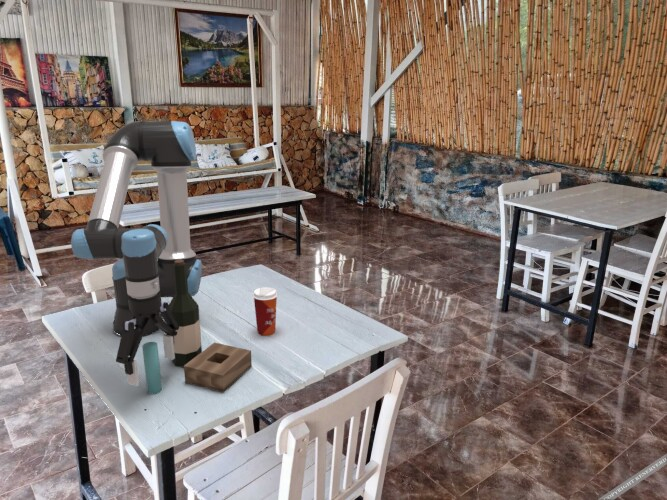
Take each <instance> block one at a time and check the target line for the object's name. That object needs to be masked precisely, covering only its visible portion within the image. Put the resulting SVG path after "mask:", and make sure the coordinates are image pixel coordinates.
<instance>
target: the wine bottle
mask: <svg viewBox="0 0 667 500" xmlns="http://www.w3.org/2000/svg"><path fill="white" fill-rule="evenodd" d="M173 272H174V284H175V295H174V296H173V297H171V300H170V302H169V303H168V304H169V310H170V311H171V313H172V315H173V317H174V318H175V320H176V322H177V324H178V326H179V329H178V330H176V331H177V335H176V336H174V354H175V359H171V361H172V363H173V364H174V365H175V367H180V368H184V365H186V364H187V363H188V362H190V361H191V360H192V359H193V358H195V357H196V356H197V355H199V354H200V353H201V352H203V349H202V347H203V346H202V335H201V320H200V309H199V307H200V306H199V304H198V303H197V302H196V300H195V299H194V298H193V296H191V295H190V294H189V293H188V283H187V271H186V263H185V262H184V260H176V261H174V264H173Z"/></svg>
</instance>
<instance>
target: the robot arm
mask: <svg viewBox="0 0 667 500" xmlns="http://www.w3.org/2000/svg"><path fill="white" fill-rule="evenodd" d="M196 146H197V145H196V141H195V136H194V134H193V130H192V128H191V126H190V124H188V123H187V122H186V121H175V120H171V121H169V120H168V121H167V120H165V121H164V120H161V121H159V120H158V121H156V120H155V121H153V120H151V121H150V120H149V121H147V120H146V121H144V120H137V121H131V122H129V123H126V124H125V125H123V126H122V127H120V128H119V129H118V130H117V131H115V132H114V133H113V134H112V135H111V136H110V138H109V139H108V141H107V142H106V145H104V149H103V152H102V160H103V167H102V169H101V173H100V177H99V180H98V184H97V187H96V191H95V194H94V199H93V202H92V206H91V210H90V213H89V216H88V220H87V224H86V227H85V228H84V227H83V228H80V229H79V228H78V229H75V231H73V233H72V235H71V239H70V241H71V243H70V245H71V250H72V252H73V255H74V256H75V257H76V258H77V259H84V260H85V259H88V260H98V259H99V260H100V259H119V260H117V261H116V262H114V264H113V265H112V267H111V269H112V270H111V272H112V273H111V274H112V277H111V278H112V285H113V291H114V298H115V306H116V309H115V312H114V318H113V322H112V329H113V330H114V331H115V332H116V333H118V334H120V335H121V336H120V340H119V345H118V349H117V354H116V358H115V362H116V363H119V364H123V365H124V366H123V368H124V373H125V375H126V377H127V384H129V385H132V386H136V387H138V386H139V385H140V382H139V379H140V378H139V371H138V363H137V360H135V357H136V355H137V352H138V349H139V347H140V345H141V341H142V339H143V337H146V336H148V335H151V334H154V333H156V332H158V331H159V330H160V331H162V332H163V333H164V334H163V335H162V343H163V344H162V345H163V350H164V351H163V353H164V354H163V355H164V358H165V359H169V360H172V359H175V354H174V336H176V335H177V331H176V330H178V329H179V326H178V324H177V322H176V320H175V318H174V317H173V315H172V313H171V311H170V310H169V304H170V303H168V302H166V301H162V298H173V296H174V295H175V284H174V272H173V264H174V261H176V260H184V262H185V263H186V271H187V283H188V293H189V294H190V295H191V296H192V297H194V296H196V295H197V294H198V293H199V290H200V286H201V280H202V271H203V263H202V260H201V259H197V254H196V252H195V251H194V250H192V247H191V233H190V229H191V228H190V211H189V210H190V209H189V196H188V195H189V193H188V171H189V170H190V169H191V168H192V162H194V161H196V159H197V147H196ZM139 162H150V164H151V165H150V166H151V169H153V170H154V172H155V173H156V174H157V175H156V176H157V189H158V190H157V191H158V206H159V209H158V210H159V221H160V225H159V224H152V223H150V224H148V225H145V226H143V227H142V228H141V227H139V228H134V227H133V228H119V226H120V222H121V218H122V215H123V214H122V213H123V211H124V207H125V203H126V198H127V194H128V193H127V192H128V189H129V185H130V181H131V176H132V173H133V170H134V169H135V168H136V167H138V164H139ZM114 331H113V332H114Z"/></svg>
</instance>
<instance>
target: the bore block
mask: <svg viewBox="0 0 667 500" xmlns="http://www.w3.org/2000/svg"><path fill="white" fill-rule="evenodd" d="M252 363H253V362H252V350H250V349H245V348H241V347H237V346H231V345H227V344H224V343H223V344H222V343H219V342H213V343H212V344H211V345H209V346H208V347H206V348H205V349H204V350H202V352H201V353H200V354H199V355H197V356H196V357H195V358H193V359H192V360H191V361H190V362H188V363H187V364H186V365H184V367H183V373H184V382H185V383H186V384H188V385H193V386H196V387H201V388H205V389H209V390H213V391H216V392H220V393H222V394H223V393H225V392H227V390H228V389H229V388H230V387H231V386H232V385H234V384H235V383H236V382H237V381H238V380H239V379H240V378H241V377H242V376H243V375H244V374H245V373H247V371H249V370H250V369H251V367H252Z"/></svg>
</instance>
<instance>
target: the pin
mask: <svg viewBox="0 0 667 500" xmlns="http://www.w3.org/2000/svg"><path fill="white" fill-rule="evenodd" d="M141 347H142V356H143V365H144V366H143V367H144V373H145V381H146V382H145V383H146V391H147V393H148V394H149V393H150V394H149V395H156V394H160V393H161V391H163V387H162V386H163V385H162V377H161V367H160V354H159V348H158V347H159V346H158V343H157V342H155V341H147V342H145V343H143V344H142V345H141Z"/></svg>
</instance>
